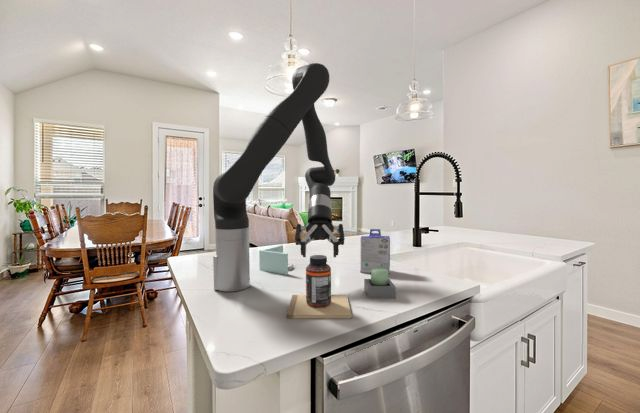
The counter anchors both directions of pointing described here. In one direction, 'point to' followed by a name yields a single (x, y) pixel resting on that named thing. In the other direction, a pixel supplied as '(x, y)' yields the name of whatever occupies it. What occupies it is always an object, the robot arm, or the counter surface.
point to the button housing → (379, 290)
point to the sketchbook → (319, 308)
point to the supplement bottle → (318, 282)
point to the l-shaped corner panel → (274, 260)
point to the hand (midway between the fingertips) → (319, 255)
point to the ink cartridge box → (375, 251)
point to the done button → (379, 276)
